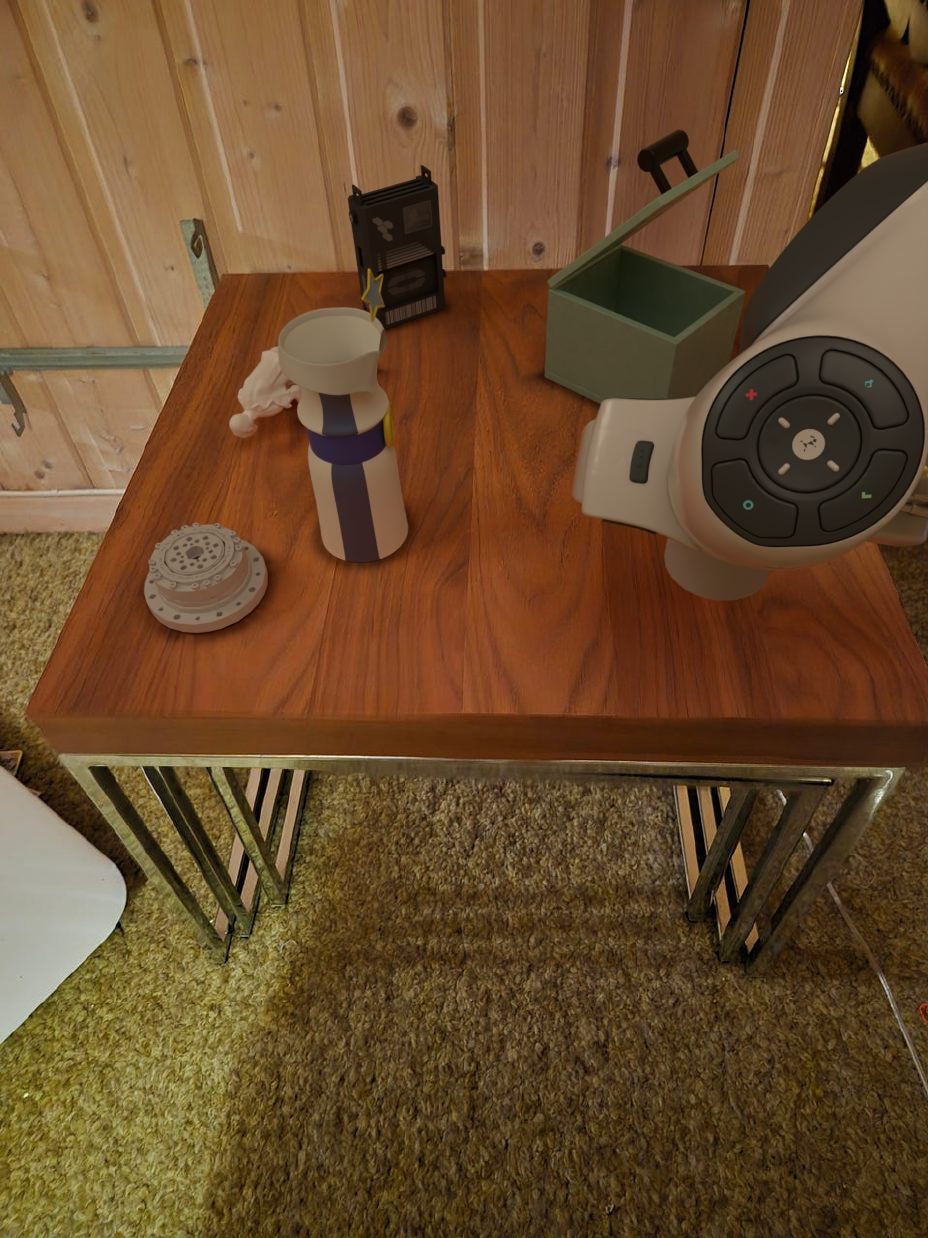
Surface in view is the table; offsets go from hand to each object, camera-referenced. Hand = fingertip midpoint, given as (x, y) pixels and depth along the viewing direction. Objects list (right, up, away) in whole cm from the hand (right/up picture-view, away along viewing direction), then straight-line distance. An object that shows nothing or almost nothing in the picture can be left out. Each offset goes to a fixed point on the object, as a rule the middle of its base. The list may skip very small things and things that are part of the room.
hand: (732, 496), depth 56 cm
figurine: (-35, +13, +30) cm, 48 cm away
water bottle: (-27, 0, +18) cm, 32 cm away
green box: (0, +17, +31) cm, 35 cm away
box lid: (-2, +27, +20) cm, 34 cm away
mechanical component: (-40, -6, +14) cm, 42 cm away
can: (0, -5, +5) cm, 7 cm away
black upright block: (-25, +27, +41) cm, 55 cm away
